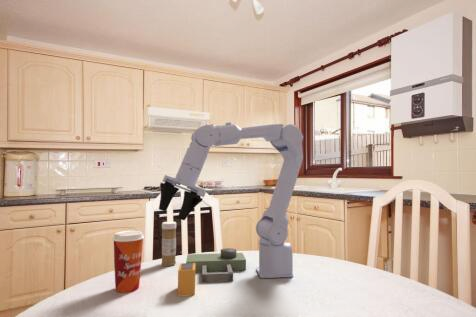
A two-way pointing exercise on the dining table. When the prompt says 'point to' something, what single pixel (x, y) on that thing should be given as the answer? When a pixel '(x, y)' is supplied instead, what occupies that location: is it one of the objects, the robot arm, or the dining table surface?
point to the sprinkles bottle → (168, 243)
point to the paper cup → (127, 260)
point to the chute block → (186, 279)
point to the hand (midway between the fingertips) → (171, 214)
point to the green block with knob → (218, 264)
